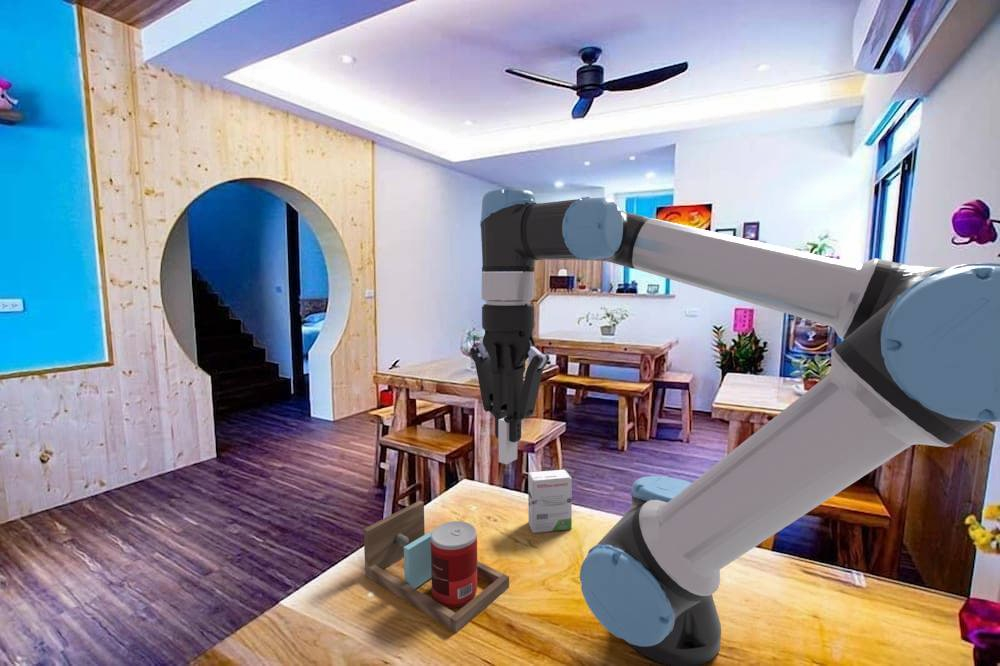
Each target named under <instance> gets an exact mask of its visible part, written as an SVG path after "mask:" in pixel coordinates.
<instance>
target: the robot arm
mask: <svg viewBox="0 0 1000 666" xmlns="http://www.w3.org/2000/svg"><path fill="white" fill-rule="evenodd" d="M480 217H481V218H480V222H479V224H480V225H479V226H480V238H481V240H480V242H481V256H482V257H481V258H482V259H481V260H482V262H481V263H482V266H481V300H483V301H485V303H484V304H483V305H482V306H481V327H482V328H481V329H483V330H484V335H483V337H482V343H480V344H479V345H478V346H474V347H473V346H472V347H471V348H470V349H469V353H470V356H471V357H472V360H473V362H474V365H475V369H476V375H477V381H478V386H479V390H480V395H481V401H482V406H483V410H484V411H485V412H488V413H491V414H492V415H493V417H494V436H495V438H497V440H498V463H500V464H504V465H508V464H511V463H512V462H514V461H516V460H518V441H521V438H522V420H524V419H526V418H529V417H531V416H533V415H534V412H535V407H536V403H537V399H538V395H539V390H540V386H541V381H542V376H543V372H544V369H545V367H546V366H547V364H548V363H549V361H550V355H549V354H548V353H545V352H544V353H542V352H541V351H540V350H539V349H537V348H536V343H535V342H536V341H535V339H534V336H533V331H534V327H535V306H534V305H533V304H532V303H531V302H532V301H533V300H534V299H535V262H536V261H544V260H545V261H546V260H547V261H550V260H551V261H552V260H555V261H557V260H558V261H572V260H573V261H597V262H598V261H600V262H607V263H608V262H609V263H612V264H615V265H618V266H622V267H626V268H628V269H633V270H638V271H640V272H645V273H648V274H651V275H654V276H658V277H662V278H665V279H668V280H672V281H675V282H678V283H682V284H685V285H688V286H692V287H696V288H699V289H702V290H706V291H710V292H713V293H716V294H720V295H723V296H725V297H726V296H727V297H729V298H732V299H733V298H734V299H736V300H740V301H743V302H746V303H749V304H753V305H756V306H759V307H763V308H768V309H770V310H774V311H777V312H780V313H784V314H787V315H791V316H795V317H796V318H797V317H798V318H801V319H804V320H809V321H810V322H815V323H818V324H821V325H825V326H828V327H831V328H832V329H834V331H835V333H836V334H837V336H838V338H839V339H842V341H841V342H839V343H838V344H836V345H835V347H833V348H832V349H831V354H830V355H831V357H830V360H831V366H830V367H831V369H830V371H829V373H828V374H827V375H825V376H824V377H823V378H822V379H821V380H820V381H818V382H817V383H816V384H814V385H813V386H812V387H810V389H808V390H807V391H805V393H803V394H802V395H801V396H799V397H798V398H797V399H795V400H794V401H792V402H791V403H790V405H788V406H787V407H786V408H784V409H783V410H782V411H781V412H779V413H778V414H777V415H775V416H774V417H773V418H772V419H770V420H769V421H768V422H767V423H765V424H764V425H763V426H762V427H761V428H759V429H758V430H756V432H754V433H753V434H752V435H750V436H749V437H748V438H747V439H746V440H744V441H743V442H742V443H740V444H739V445H738V446H736V448H734V449H732V451H730V452H729V453H727V454H726V456H724V457H723V458H722V459H721V460H719V461H717V462H716V463H715V464H714V465H713V466H711V467H710V468H709V469H708V470H706V471H704V473H703V474H701V476H699V477H698V478H697V479H695V480H694V481H693V482H690V481H688V480H684V479H680V478H676V477H669V476H660V475H652V476H642V477H639V478H637V479H636V480H634V482H633V483H632V487H631V491H630V496H631V504H630V509H629V510H628V511H627V512H626V513H625V514H624V515H623V516H622V517H621V518H620V519H619V521H617V522H616V523H615V525H614V526H613V527H611V529H610V530H609V531H608V532H607V533H606V534H605V535H604V536H603V537H602V538H601V540H600V541H599V542H598V543H596V544H595V545H593V546H592V547H591V548H590V549H588V552H587V554H586V557H585V558H584V560H583V561H582V563H581V567H580V571H579V581H580V584H581V585H580V588H581V589H580V590H581V593H582V596H583V598H584V601H585V603H586V605H587V607H588V609H589V610H590V612H591V614H592V615H593V616H594V617H595V618H596V620H597V621H598V622H599V624H600V625H602V627H603V628H605V629H606V630H607V631H608V632H609V633H610V634H612V635H613V636H615V637H616V638H617V639H623V640H624V641H625V642H627V643H628V644H629V646H631V647H632V648H633V649H634V650H636V651H637V652H638V653H639V654H642V655H643V656H645V657H647V658H649V659H651V660H653V661H655V662H658V663H661V664H664V665H668V666H702V665H703V664H706V663H709V662H710V661H712V659H714V658H715V657H716V656H717V655H718V653H719V651H720V648H721V645H722V644H721V639H722V625H721V621H720V617H719V614H718V611H717V607H716V603H715V600H714V597H713V594H714V593H716V592H717V591H718V589H719V587H720V584H721V570H722V569H723V568H725V567H726V566H728V565H729V564H731V563H733V562H734V561H735V560H737V559H739V558H740V557H742V556H743V555H745V554H747V553H748V552H749V551H751V550H752V549H754V548H755V547H758V546H759V545H760V544H762V543H763V542H765V541H767V540H768V539H769V538H771V537H773V536H774V535H776V534H777V533H779V532H780V531H782V530H783V529H785V528H786V527H788V526H789V525H791V524H793V523H794V522H795V521H797V520H799V519H800V518H801V517H803V516H805V515H806V514H808V513H809V512H811V511H812V510H814V509H815V508H817V507H818V506H820V505H821V504H824V503H825V502H827V501H828V500H830V499H831V498H832V497H835V496H836V495H837V494H839V493H840V492H842V491H843V490H845V489H846V488H848V487H850V486H851V485H853V484H854V483H856V482H857V481H859V480H861V478H863V477H864V476H866V475H868V474H870V473H871V472H872V471H874V470H876V469H877V468H879V467H880V466H882V465H883V464H886V463H887V462H888V461H890V460H892V459H893V458H894V457H895V456H897V455H899V454H901V453H902V452H903V451H905V450H906V449H908V448H910V447H911V446H914V445H922V446H930V447H931V446H933V447H941V448H948V447H950V446H952V445H953V444H954V445H955V443H957V442H958V441H960V440H961V439H963V438H964V437H966V436H968V435H970V434H972V433H973V432H974V431H975V432H976V430H978V429H980V428H981V427H983V426H985V425H986V424H987V423H997V422H1000V263H996V262H977V263H976V262H974V263H973V262H972V263H971V262H970V263H964V264H958V265H953V266H930V265H929V266H927V265H917V264H907V263H900V262H894V261H890V260H884V259H880V258H873V259H870V260H867V261H864V262H862V263H856V262H850V261H847V260H843V259H842V260H841V259H837V258H832V257H827V256H824V255H818V254H814V253H811V252H810V253H809V252H807V251H806V252H805V251H800V250H796V249H792V248H788V247H782V246H779V245H774V244H769V243H765V242H761V241H757V240H751V239H748V238H742V237H737V236H734V235H729V234H724V233H721V232H715V231H711V230H706V229H704V228H703V229H702V228H699V227H698V228H697V227H693V226H688V225H684V224H680V223H676V222H671V221H666V220H662V219H657V218H651V217H648V216H644V215H639V214H635V213H631V212H628V211H624V210H621V209H620V207H618V205H617V203H616V201H615V200H614V199H612V198H610V197H589V196H584V197H581V198H577V199H568V200H559V201H550V202H538V203H537V202H536V196H535V194H534V192H533V191H530V190H528V189H521V188H508V189H507V188H506V189H503V188H500V189H493V190H490V191H488V192H486V193H485V194H484V195H483V197H482V201H481V216H480ZM526 363H527V364H528V365H527V366H526ZM526 367H527V368H526ZM524 374H525V375H524Z"/></svg>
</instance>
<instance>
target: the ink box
mask: <svg viewBox="0 0 1000 666" xmlns="http://www.w3.org/2000/svg"><path fill="white" fill-rule="evenodd" d="M527 474H528V475H527V476H528V479H527V481H528V492H527V493H528V503H527V504H528V512H527V513H528V525H529V528H530V530H531V532H532V533H533V534H535V533H536V534H538V533H547V532H548V533H549V532H557V531H566V530H572V527H573V525H572V522H573V521H572V518H573V517H572V515H573V514H572V513H573V512H572V511H573V510H572V505H573V502H572V500H573V498H572V496H573V495H572V491H573V489H572V486H573V484H572V483H573V482H572V481H573V478H572V477H571V475H570V474H569V472H568V471H567V470H566V469H558V470H557V469H556V470H555V469H553V470H544V471H543V470H542V471H532V472H531V471H530V472H529V471H528V473H527Z"/></svg>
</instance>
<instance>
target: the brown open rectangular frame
mask: <svg viewBox="0 0 1000 666" xmlns="http://www.w3.org/2000/svg"><path fill="white" fill-rule="evenodd" d="M425 534H426V533H425V502H424V501H422V500H418V501H416V502H414V503H412V504H410V505H408V506H406V507H404V508H402V509H400V510H399V511H396V512H394V513H392V514H390V515H388V516H387V517H384V518H382V519H380V520H378V521H376V522H375V523H373V524H371V525H368V526H366V527H364V528H363V546H364V547H363V549H364V552H363V553H364V572H365V573H364V574H365V577H367V578H368V579H370V580H372V581H373V582H374V583H376V584H378V585H379V586H381V587H383V588H384V589H385V590H387V591H388V592H390V593H393V594H394V595H395V596H397V597H399V598H400V599H401V600H404V601H405V602H407V603H408V604H409V605H410V606H412V607H414V608H416V609H418V610H419V611H421V612H422V613H424V614H425V615H427V616H429V617H430V618H432V619H433V620H434V621H436V622H438V623H439V624H441V625H443V626H444V627H446V628H447V629H449V630H450V631H452V632H453V633H456V634H457V633H458V632H460V630H462V629H463V628H464V627H465V626H466V625H467V624H469V623H470V622H471V621H472V620H473V619H474V618H475V617H477V616H478V615H479V614H480V613H481V612H482V611H483V610H485V609H486V608H487V607H488V606H490V605H491V603H493V602H494V601H495V600H497V598H498V597H500V596H501V595H502V594H503V593H504V592H505V591H507V590H508V589H509V588H510V575H507V574H505V573H502V572H500V571H499V570H497V569H495V568H492V567H491V566H489V565H487V564H484V563H482V562H480V561H478V560H477V578H479V579H481V580H483V581H484V582H487V583H488V584H489V585H488V586H487V587H486V588H485V589H483V590H481V591H480V593H478V594H477V595H475V596H474V598H473V599H472V600H471V601H470V602H469V603H467V604H465V605H463V606H462V607H461V608H460V609H459V610H457V611H456V612H455V611H453V610H452V609H451V608H450V609H449V607H445V606H443V605H441V604H440V603H438V602H436V601H435V600H434V598H432V597H429V596H428V595H427V594H424V593H423V592H421V591H420V590H418V589H417V588H413V587H411V586H410V585H408V584H406V583H405V581H403V580H401V579H399V578H398V577H396V576H394V575H393V574H391V573H389V572H387V571H386V570H385V569H388V568H389V567H390V566H392V565H395V564H396V563H397V562H399V561H400V560H402V559H404V547H405V546H407V545H408V544H410V543H412V542H413V541H415V540H417V539H418V538H420V537H422V536H424V535H425Z"/></svg>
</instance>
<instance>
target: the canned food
mask: <svg viewBox="0 0 1000 666" xmlns="http://www.w3.org/2000/svg"><path fill="white" fill-rule="evenodd" d="M432 530H433V531H432ZM432 530H431V531H432V533H431V576H432V577H431V594H432V596H433V600H435V601H436V602H438V603H440V604H441V605H443V606H445V607H446V608H448V609H449V608H450V609H451V608H460V607H464V606H465V605H466V604H467V603H469V602H470V601H471V600H472V599H474V598H475V597H476V594H477V592H478V577H477V561H478V535H477V534H478V533H477V529H476V527H475V526H474V525H472V523H469V522H465V521H459V520H453V521H446V522H444V523H441V524H439V525H437V526H436V527H435V528H433V529H432Z"/></svg>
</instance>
